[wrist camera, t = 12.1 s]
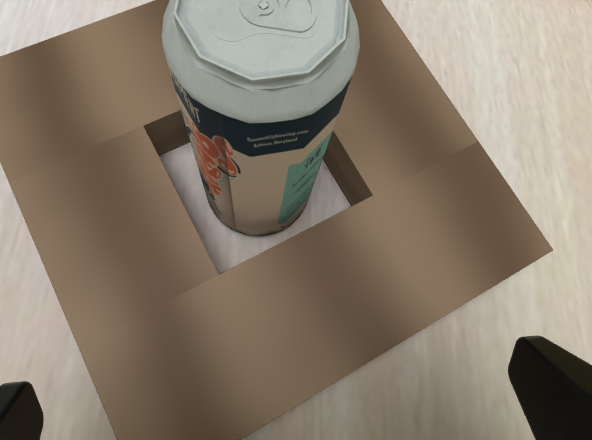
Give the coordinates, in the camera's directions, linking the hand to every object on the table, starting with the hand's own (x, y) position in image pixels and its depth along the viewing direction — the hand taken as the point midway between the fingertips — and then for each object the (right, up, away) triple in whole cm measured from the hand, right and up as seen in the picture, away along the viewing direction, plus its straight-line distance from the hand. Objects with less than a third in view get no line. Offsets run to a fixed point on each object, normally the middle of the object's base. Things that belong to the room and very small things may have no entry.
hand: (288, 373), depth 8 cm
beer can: (-2, +4, +13) cm, 14 cm away
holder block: (-2, +4, +13) cm, 14 cm away
